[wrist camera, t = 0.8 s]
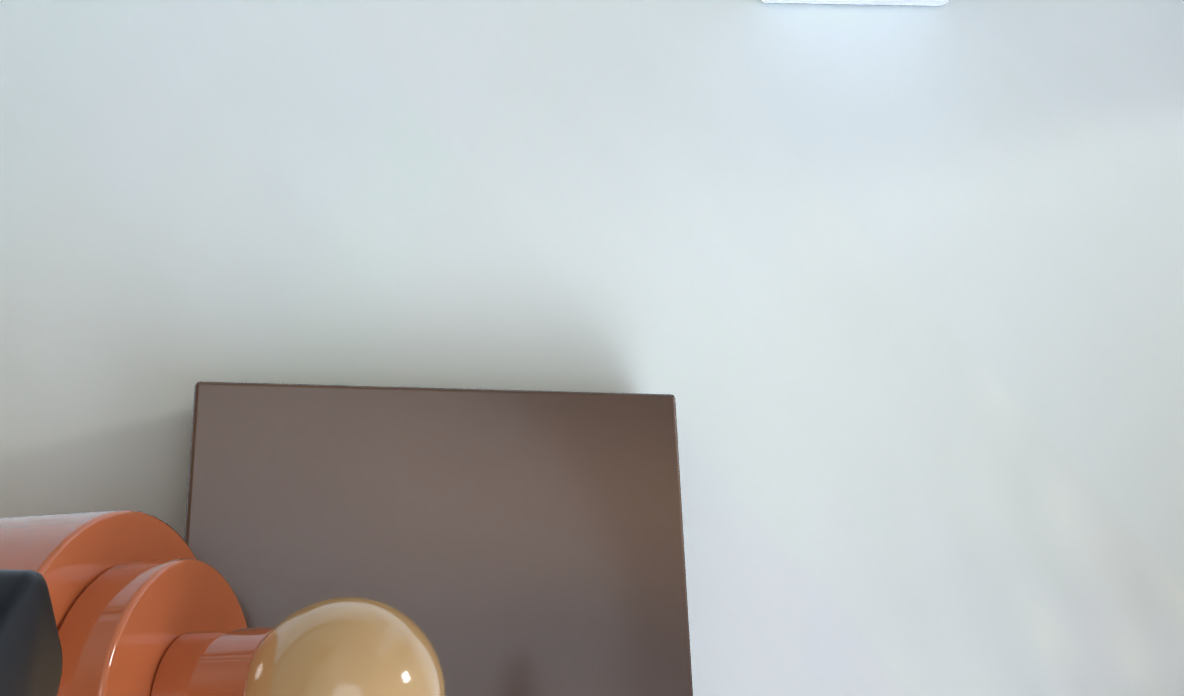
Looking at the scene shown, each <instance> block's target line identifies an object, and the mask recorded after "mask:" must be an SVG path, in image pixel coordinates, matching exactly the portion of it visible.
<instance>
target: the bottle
mask: <svg viewBox="0 0 1184 696" xmlns="http://www.w3.org/2000/svg"><path fill="white" fill-rule="evenodd" d="M0 569H11V570H33V571H36V572H39V573H40V574H41V575H42V576H43V577H44V579H45V581H46V583H47V586H48V589H49V594H50V598H51V603H52V607H53V612H54V616H55V621H56V625H57V630H58V634H59V639H60V643H61V648H62V656H63V666H62V675H61V681H60V686H59V690H58V693H57V696H446V686H445V678H444V673H443V668H442V665H441V662H440V659H439V656H438V654H437V652H436V650H435V648H434V646H433V644H432V642H431V641H430V639H429V638H428V636H427V635H426V633H425V632H424V631H423V630H422V629H421V628H420V626H419V625H418V624H417V623H416V622H414V621H413V620H412V619H411V618H410V617H409V616H408V615H406V614H404V613H403V612H401V611H400V610H398V609H397V608H395V607H393V606H391V605H388V604H386V603H384V602H381V601H378V600H374V599H370V598H364V597H353V596H343V597H333V598H328V599H324V600H319V601H317V602H314V603H311V604H308V605H306V606H304V607H302V608H300V609H298V610H296V611H294V612H293V613H291V614H290V615H288V616H287V617H285V618H284V619H283V620H281V621H280V622H279V623H278V624H277V625H276V626H275V627H253V628H247V624H246V620H245V617H244V614H243V611H242V608H241V605H240V603H239V601H238V599H237V596H236V594H235V592H234V591H233V589H232V588H231V586H230V584H229V583H228V582H227V580H226V579H225V578H224V577H223V575H222V574H221V573H219V572H218V571H217V570H216V569H215V568H214V567H212V566H210V565H208V564H207V563H205V562H202V561H199V560H197V559H196V557H195V555H194V554H193V552H192V551H191V549H190V547H189V546H188V545H187V544H186V542H185V541H184V540H183V539H182V538H181V536H180V535H179V534H178V533H177V532H176V531H174V530H173V529H172V528H171V527H170V526H169V525H168V524H166V523H164V522H163V521H161V520H159V519H157V518H156V517H154V516H151V515H148V514H145V513H142V512H139V511H130V510H115V511H100V512H84V513H69V514H53V515H38V516H22V517H7V518H0Z"/></svg>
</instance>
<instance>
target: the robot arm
mask: <svg viewBox="0 0 1184 696" xmlns="http://www.w3.org/2000/svg"><path fill="white" fill-rule="evenodd" d="M62 666H63V656H62V648H61V643H60V639H59V634H58V630H57V625H56V621H55V616H54V612H53V607H52V603H51V598H50V594H49V589H48V586H47V583H46V581H45V579H44V577H43V576H42V575H41V574H40V573H39V572H36V571H33V570H11V569H0V696H57V693H58V690H59V686H60V681H61V675H62Z"/></svg>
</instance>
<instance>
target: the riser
mask: <svg viewBox="0 0 1184 696" xmlns="http://www.w3.org/2000/svg"><path fill="white" fill-rule="evenodd" d="M185 542H186V544H187V545H188V546H189V547H190V549H191V551H192V552H193V554H194V555H195V557H196V559H197V560H199V561H202V562H205V563H207V564H208V565H210V566H212V567H214V568H215V569H216V570H217V571H218V572H219V573H221V574H222V575H223V577H224V578H225V579H226V580H227V582H228V583H229V584H230V586H231V588H232V589H233V591H234V592H235V594H236V596H237V599H238V601H239V603H240V605H241V608H242V611H243V614H244V617H245V620H246V624H247V628H253V627H275V626H276V625H277V624H278V623H279V622H280V621H281V620H283V619H284V618H285V617H287V616H288V615H290V614H291V613H293V612H294V611H296V610H298V609H300V608H302V607H304V606H306V605H308V604H311V603H314V602H317V601H319V600H324V599H328V598H333V597H343V596H353V597H364V598H370V599H374V600H378V601H381V602H384V603H386V604H388V605H391V606H393V607H395V608H397V609H398V610H400V611H401V612H403V613H404V614H406V615H408V616H409V617H410V618H411V619H412V620H413V621H414V622H416V623H417V624H418V625H419V626H420V628H421V629H422V630H423V631H424V632H425V633H426V635H427V636H428V638H429V639H430V641H431V642H432V644H433V646H434V648H435V650H436V652H437V654H438V656H439V659H440V662H441V665H442V668H443V673H444V678H445V686H446V696H693V689H692V673H691V656H690V639H689V622H688V605H687V588H686V572H685V555H684V538H683V521H682V504H681V487H680V470H679V454H678V437H677V420H676V403H675V397H674V395H671V394H636V393H600V392H564V391H527V390H491V389H455V388H419V387H382V386H346V385H310V384H274V383H237V382H201V381H200V382H197V383H196V385H195V392H194V407H193V422H192V437H191V452H190V466H189V481H188V496H187V511H186V526H185Z"/></svg>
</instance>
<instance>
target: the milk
mask: <svg viewBox="0 0 1184 696" xmlns="http://www.w3.org/2000/svg"><path fill="white" fill-rule="evenodd" d="M761 1H762V2H764V3H811V4H867V5H924V6H942V5H944V4H946V3H947V2H948V1H949V0H761Z"/></svg>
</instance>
